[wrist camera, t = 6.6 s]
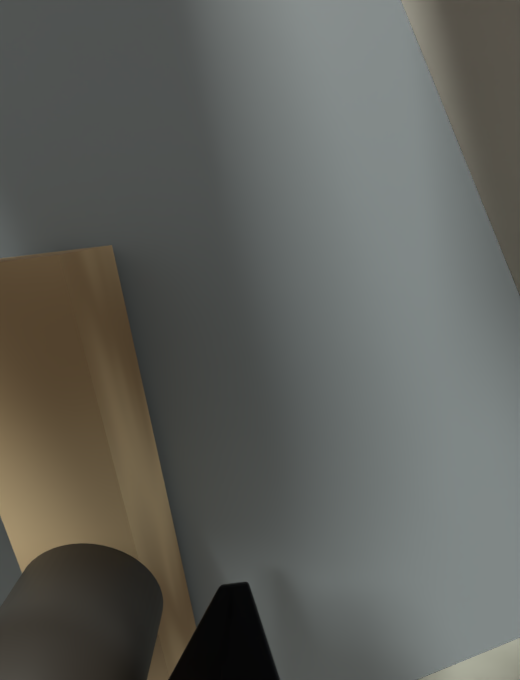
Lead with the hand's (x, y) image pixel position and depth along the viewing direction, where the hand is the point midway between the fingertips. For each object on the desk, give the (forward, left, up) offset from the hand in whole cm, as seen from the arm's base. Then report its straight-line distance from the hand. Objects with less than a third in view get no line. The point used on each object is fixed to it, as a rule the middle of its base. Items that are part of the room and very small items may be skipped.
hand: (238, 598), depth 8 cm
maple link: (-4, -1, -3) cm, 5 cm away
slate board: (-2, +2, -4) cm, 5 cm away
